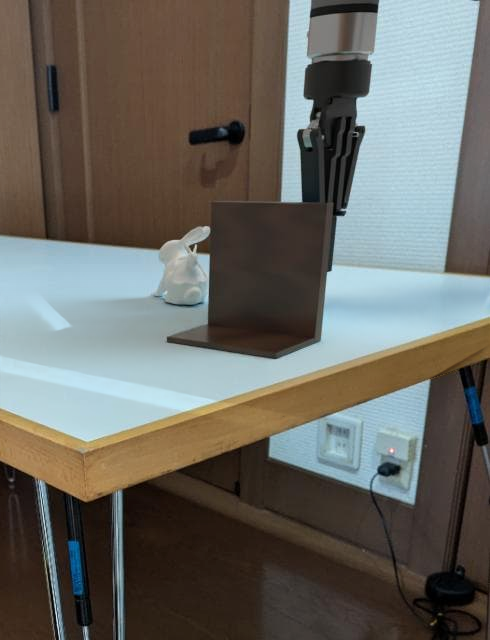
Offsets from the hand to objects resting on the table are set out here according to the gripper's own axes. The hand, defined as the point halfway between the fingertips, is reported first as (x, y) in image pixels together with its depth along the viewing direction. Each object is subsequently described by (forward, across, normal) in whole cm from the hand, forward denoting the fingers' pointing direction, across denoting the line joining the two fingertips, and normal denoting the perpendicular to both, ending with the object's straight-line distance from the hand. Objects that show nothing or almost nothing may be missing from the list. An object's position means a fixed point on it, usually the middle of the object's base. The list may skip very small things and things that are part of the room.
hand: (319, 270), depth 104 cm
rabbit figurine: (+5, +6, -17) cm, 18 cm away
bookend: (+4, +23, +4) cm, 24 cm away
